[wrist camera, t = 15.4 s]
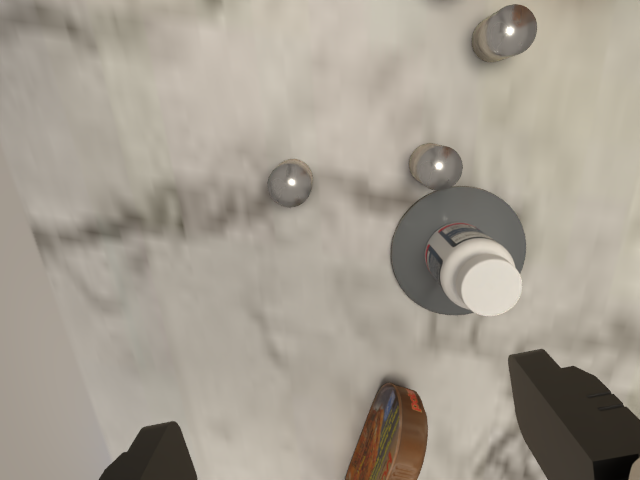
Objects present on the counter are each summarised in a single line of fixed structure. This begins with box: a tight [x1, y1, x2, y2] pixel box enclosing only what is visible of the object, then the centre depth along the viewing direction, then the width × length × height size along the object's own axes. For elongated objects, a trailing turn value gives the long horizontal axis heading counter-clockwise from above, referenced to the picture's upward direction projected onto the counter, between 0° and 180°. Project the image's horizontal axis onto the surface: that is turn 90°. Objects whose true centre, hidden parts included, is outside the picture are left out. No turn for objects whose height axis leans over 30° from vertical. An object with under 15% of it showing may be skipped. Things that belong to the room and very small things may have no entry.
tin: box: [345, 383, 428, 480], centre depth 41 cm, size 15×3×8 cm, turn 163°
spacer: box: [409, 143, 463, 191], centre depth 37 cm, size 3×3×4 cm
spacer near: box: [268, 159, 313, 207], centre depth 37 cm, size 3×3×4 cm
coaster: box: [391, 186, 526, 315], centre depth 40 cm, size 11×11×1 cm
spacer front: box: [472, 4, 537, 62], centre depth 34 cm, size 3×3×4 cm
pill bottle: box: [425, 222, 522, 316], centre depth 35 cm, size 5×5×9 cm
